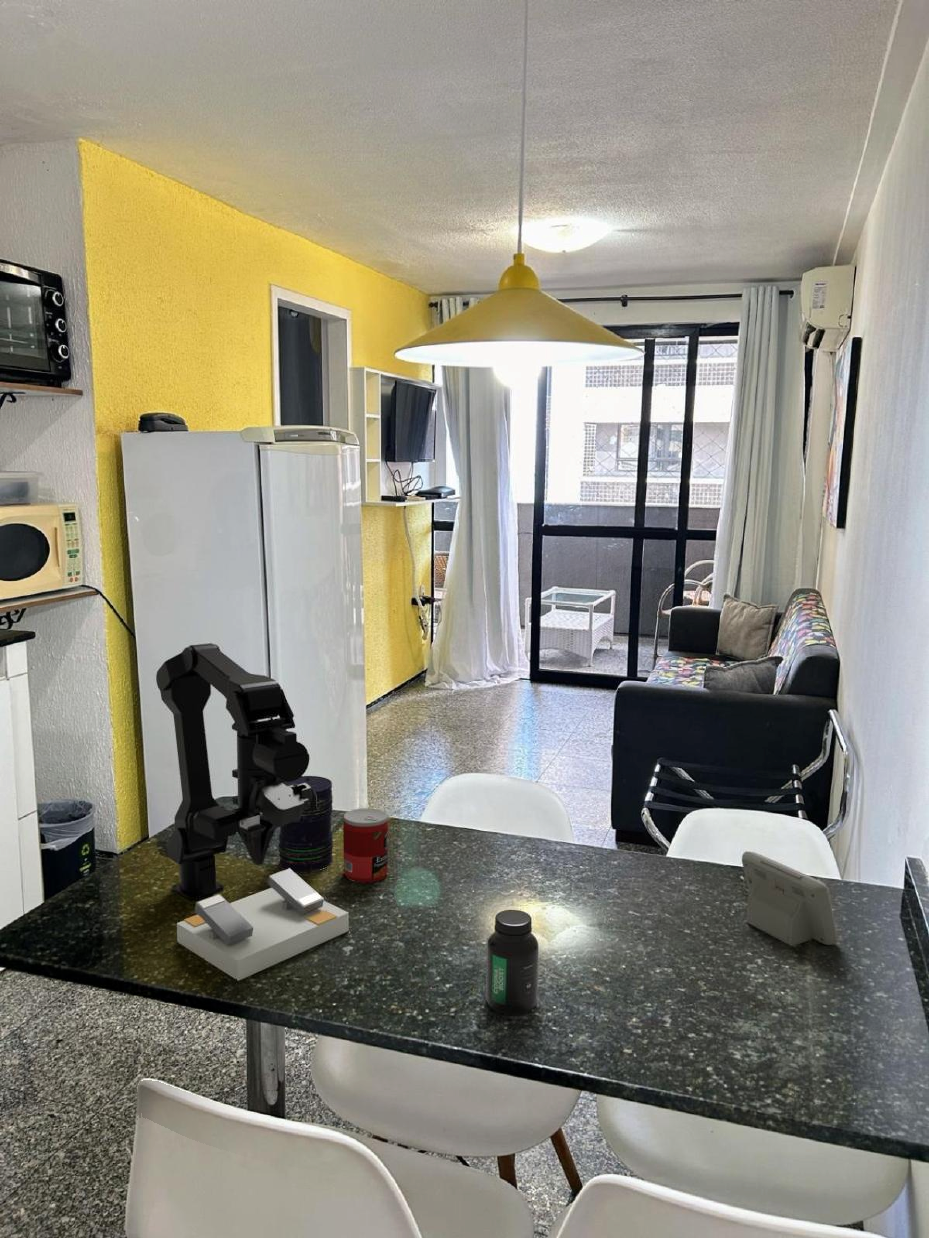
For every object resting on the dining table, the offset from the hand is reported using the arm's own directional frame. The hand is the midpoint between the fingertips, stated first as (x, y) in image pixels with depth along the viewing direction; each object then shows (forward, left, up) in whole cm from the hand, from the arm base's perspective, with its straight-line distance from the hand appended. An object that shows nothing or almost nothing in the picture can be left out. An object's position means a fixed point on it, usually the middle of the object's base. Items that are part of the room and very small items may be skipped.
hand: (258, 863), depth 135 cm
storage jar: (-18, +23, -12) cm, 31 cm away
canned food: (-6, +27, -12) cm, 30 cm away
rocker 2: (0, +7, -6) cm, 9 cm away
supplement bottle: (+39, +13, -12) cm, 43 cm away
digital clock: (+58, +59, -12) cm, 83 cm away
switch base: (0, +1, -12) cm, 12 cm away
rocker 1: (0, -6, -6) cm, 9 cm away
